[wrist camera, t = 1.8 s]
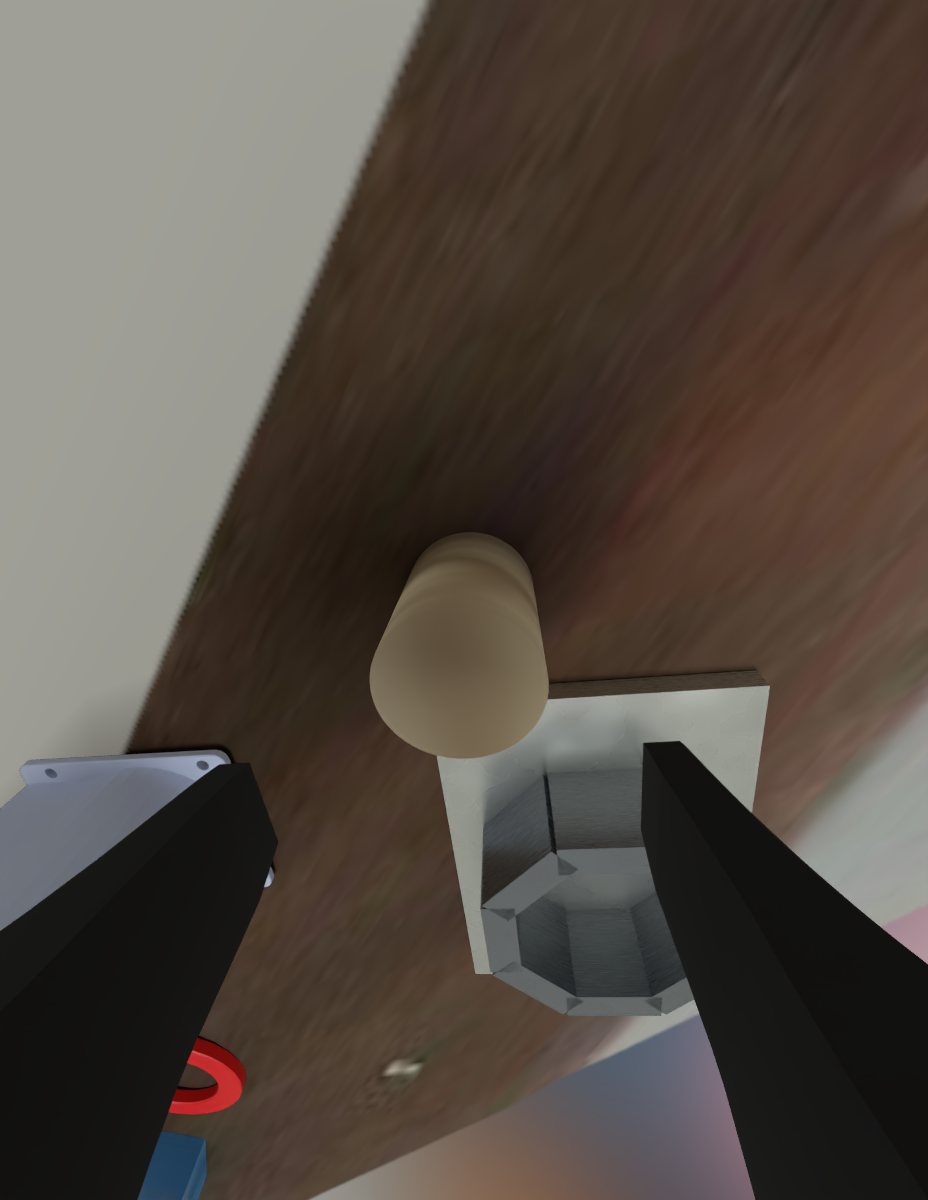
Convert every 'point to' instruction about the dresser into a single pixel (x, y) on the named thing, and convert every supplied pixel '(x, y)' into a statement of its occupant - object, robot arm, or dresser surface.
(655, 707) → the rosette socket
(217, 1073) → the tow hook
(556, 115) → the dresser surface
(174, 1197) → the perfume bottle
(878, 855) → the dresser surface
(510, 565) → the tan peg
